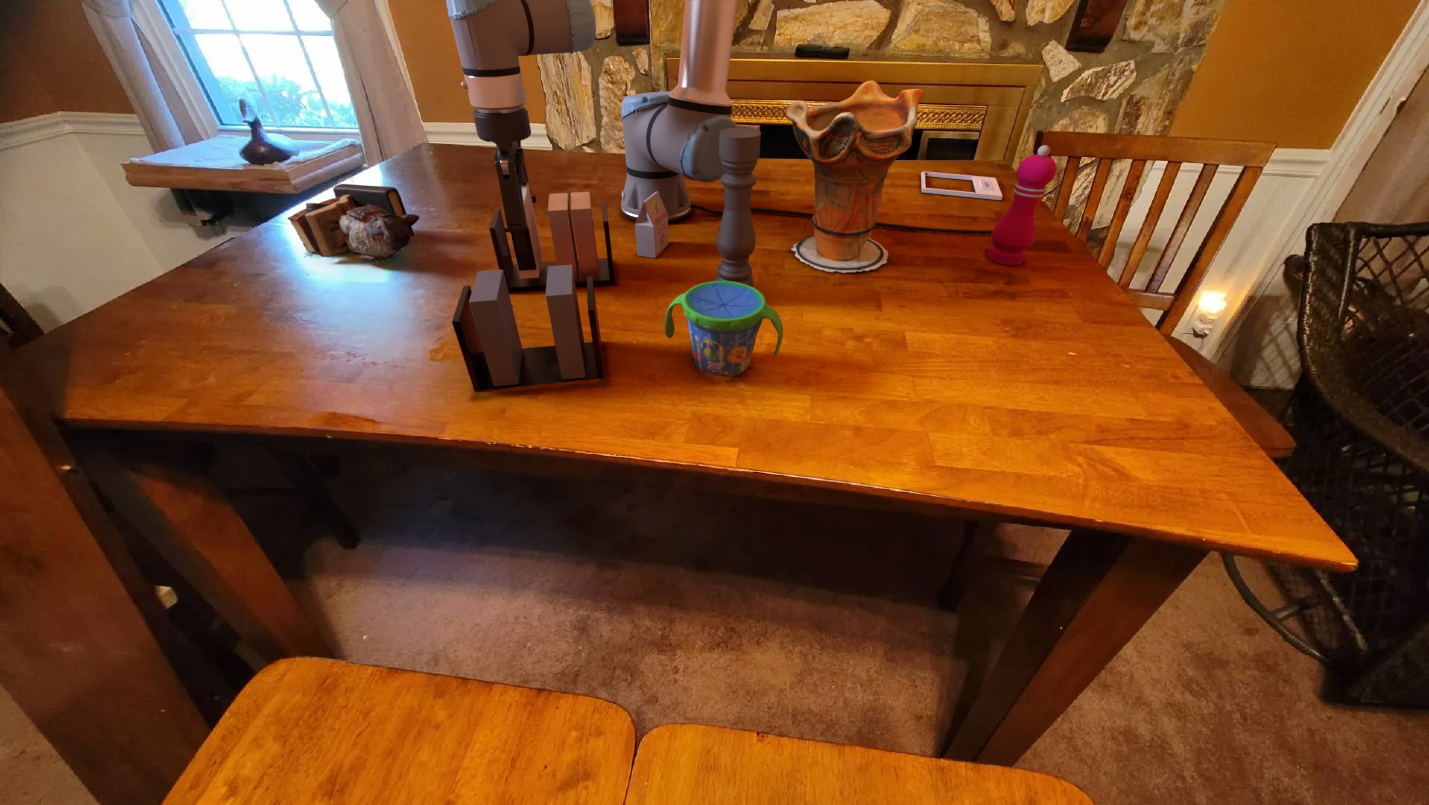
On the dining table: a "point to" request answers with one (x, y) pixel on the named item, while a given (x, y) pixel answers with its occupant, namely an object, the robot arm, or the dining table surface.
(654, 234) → the milk carton
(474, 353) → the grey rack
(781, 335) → the snack cup
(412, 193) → the dining table surface
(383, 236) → the bookend
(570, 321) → the grey book
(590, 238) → the black rack
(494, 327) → the grey book
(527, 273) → the white book
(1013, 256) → the pepper mill
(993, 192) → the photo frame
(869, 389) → the dining table surface
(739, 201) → the candle holder
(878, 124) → the decorative vase
